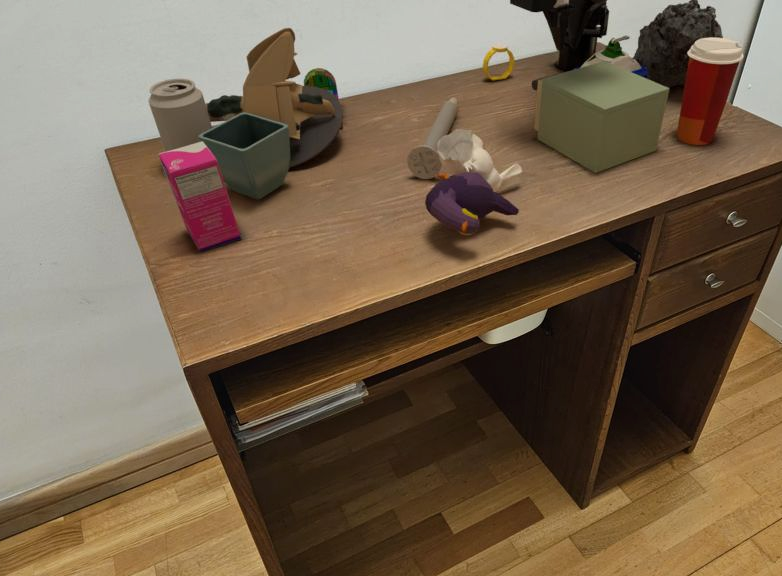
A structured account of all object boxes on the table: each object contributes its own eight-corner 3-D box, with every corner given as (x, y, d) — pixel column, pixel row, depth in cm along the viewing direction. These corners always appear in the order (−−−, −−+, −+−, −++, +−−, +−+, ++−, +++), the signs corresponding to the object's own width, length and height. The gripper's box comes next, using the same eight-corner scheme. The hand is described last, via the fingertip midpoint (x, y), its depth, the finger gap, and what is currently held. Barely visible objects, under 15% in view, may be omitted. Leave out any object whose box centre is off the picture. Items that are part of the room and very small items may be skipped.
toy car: (650, 96, 114) (661, 39, 107) (598, 111, 110) (606, 53, 103) (614, 79, 120) (623, 25, 113) (563, 93, 115) (569, 37, 109)
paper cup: (714, 127, 105) (739, 36, 95) (724, 149, 99) (751, 54, 90) (665, 126, 105) (685, 35, 96) (672, 147, 100) (694, 53, 90)
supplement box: (185, 233, 85) (156, 151, 77) (229, 219, 87) (205, 139, 79) (197, 254, 81) (168, 171, 73) (243, 239, 84) (219, 157, 76)
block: (293, 111, 113) (285, 71, 108) (339, 106, 114) (333, 66, 109) (293, 139, 104) (284, 97, 99) (344, 133, 105) (337, 91, 100)
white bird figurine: (468, 171, 81) (505, 219, 88) (507, 127, 82) (541, 177, 88) (421, 151, 90) (458, 195, 97) (456, 110, 90) (490, 157, 97)
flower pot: (259, 211, 89) (243, 150, 82) (214, 195, 92) (195, 135, 86) (301, 183, 94) (289, 124, 88) (257, 169, 97) (243, 111, 91)
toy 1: (227, 101, 107) (178, 15, 94) (342, 77, 105) (309, -14, 92) (216, 182, 97) (160, 99, 84) (342, 157, 95) (305, 68, 82)
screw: (444, 118, 114) (471, 111, 112) (414, 182, 95) (445, 174, 93) (435, 90, 111) (462, 82, 109) (402, 150, 92) (434, 142, 90)
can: (230, 155, 101) (209, 78, 92) (203, 178, 96) (177, 98, 87) (190, 149, 103) (165, 73, 94) (160, 171, 97) (132, 92, 89)
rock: (714, 107, 111) (743, 14, 100) (633, 104, 112) (653, 10, 101) (695, 71, 123) (719, -17, 112) (623, 68, 123) (639, -19, 113)
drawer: (515, 118, 107) (517, 70, 101) (568, 102, 111) (573, 55, 106) (586, 159, 96) (593, 107, 90) (641, 139, 100) (651, 89, 95)
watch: (487, 84, 120) (488, 51, 116) (480, 79, 122) (481, 46, 117) (515, 78, 122) (517, 45, 117) (508, 73, 123) (509, 41, 119)
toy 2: (490, 239, 88) (524, 213, 83) (438, 257, 80) (472, 229, 75) (450, 172, 89) (481, 142, 84) (394, 182, 80) (425, 149, 76)
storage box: (537, 139, 103) (542, 78, 96) (596, 119, 108) (604, 60, 101) (595, 173, 95) (604, 109, 88) (656, 150, 99) (669, 88, 93)
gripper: (564, -50, 79) (552, 79, 90) (671, -70, 86) (648, 51, 97) (510, -66, 86) (505, 56, 97) (613, -83, 93) (598, 32, 104)
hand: (566, 49), depth 98 cm, fingers closed
